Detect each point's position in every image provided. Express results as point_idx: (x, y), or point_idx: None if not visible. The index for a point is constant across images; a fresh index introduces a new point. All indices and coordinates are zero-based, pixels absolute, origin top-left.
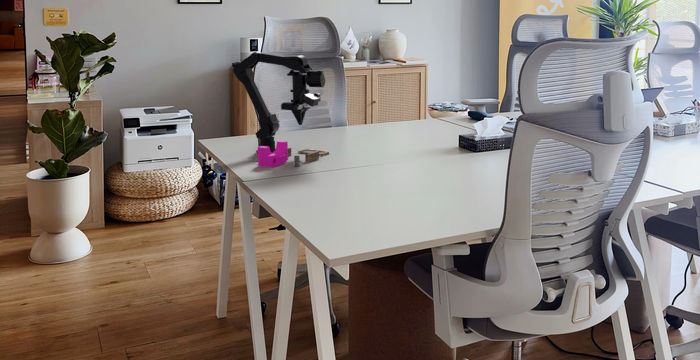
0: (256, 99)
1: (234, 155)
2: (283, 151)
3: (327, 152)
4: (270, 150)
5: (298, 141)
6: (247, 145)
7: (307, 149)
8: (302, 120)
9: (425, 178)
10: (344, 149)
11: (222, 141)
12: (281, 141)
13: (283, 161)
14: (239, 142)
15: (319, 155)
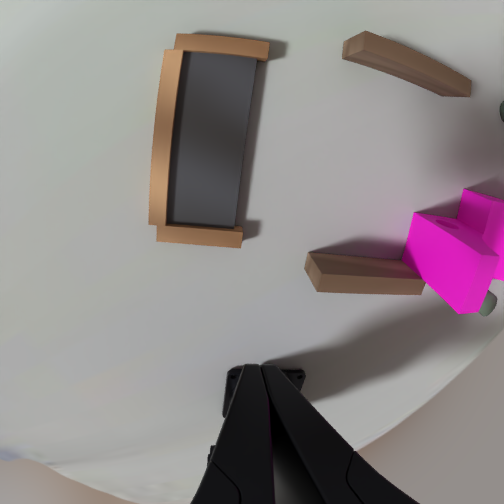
0: None
1: (363, 421)
2: (474, 235)
3: (197, 35)
4: (286, 376)
5: (10, 367)
6: (188, 465)
7: (166, 216)
8: (256, 407)
9: None
10: (17, 50)
11: (179, 501)
12: (479, 290)
13: (485, 195)
14: (163, 483)
15: (254, 72)
